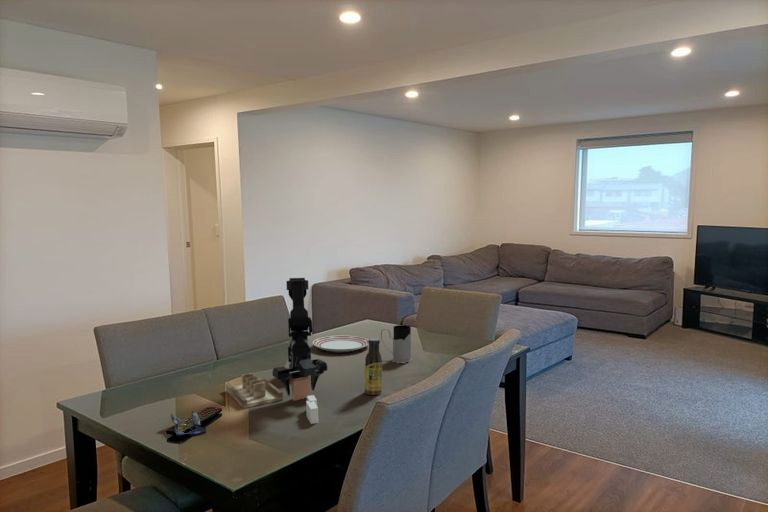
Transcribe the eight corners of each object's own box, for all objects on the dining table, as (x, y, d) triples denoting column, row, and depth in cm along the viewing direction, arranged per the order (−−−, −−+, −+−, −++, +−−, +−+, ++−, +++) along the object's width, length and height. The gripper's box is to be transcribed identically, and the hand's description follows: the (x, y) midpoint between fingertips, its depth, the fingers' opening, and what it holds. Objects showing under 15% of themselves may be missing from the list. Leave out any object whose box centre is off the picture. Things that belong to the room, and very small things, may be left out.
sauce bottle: (369, 397, 187) (368, 342, 185) (361, 391, 193) (361, 338, 191) (385, 394, 190) (385, 340, 188) (377, 388, 196) (377, 336, 194)
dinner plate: (338, 337, 272) (338, 331, 272) (381, 345, 256) (381, 339, 256) (300, 349, 250) (300, 343, 250) (344, 359, 234) (344, 352, 234)
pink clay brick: (307, 395, 189) (307, 376, 189) (309, 397, 188) (309, 378, 187) (292, 399, 186) (291, 379, 185) (294, 400, 184) (293, 381, 184)
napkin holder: (319, 428, 162) (319, 410, 162) (287, 424, 166) (286, 406, 165) (339, 410, 177) (339, 394, 176) (308, 406, 180) (308, 390, 180)
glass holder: (409, 364, 226) (409, 330, 224) (377, 361, 230) (377, 327, 229) (414, 358, 234) (414, 325, 232) (384, 355, 238) (384, 323, 237)
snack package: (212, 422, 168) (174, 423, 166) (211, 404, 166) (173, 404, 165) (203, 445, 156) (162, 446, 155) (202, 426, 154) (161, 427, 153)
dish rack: (262, 383, 202) (262, 368, 201) (282, 399, 185) (282, 382, 185) (226, 391, 194) (225, 374, 194) (243, 408, 178) (243, 390, 177)
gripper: (283, 359, 173) (284, 405, 175) (334, 350, 184) (334, 394, 185) (271, 351, 183) (272, 395, 184) (320, 343, 193) (320, 385, 194)
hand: (300, 392), depth 187 cm, fingers open, 9 cm apart
